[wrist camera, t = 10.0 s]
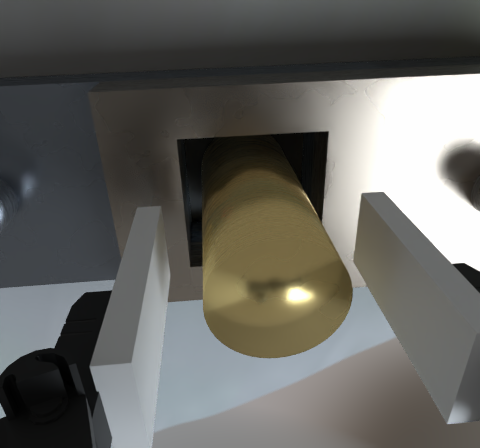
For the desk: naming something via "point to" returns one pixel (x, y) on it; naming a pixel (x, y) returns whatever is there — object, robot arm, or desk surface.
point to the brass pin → (266, 253)
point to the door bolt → (224, 125)
